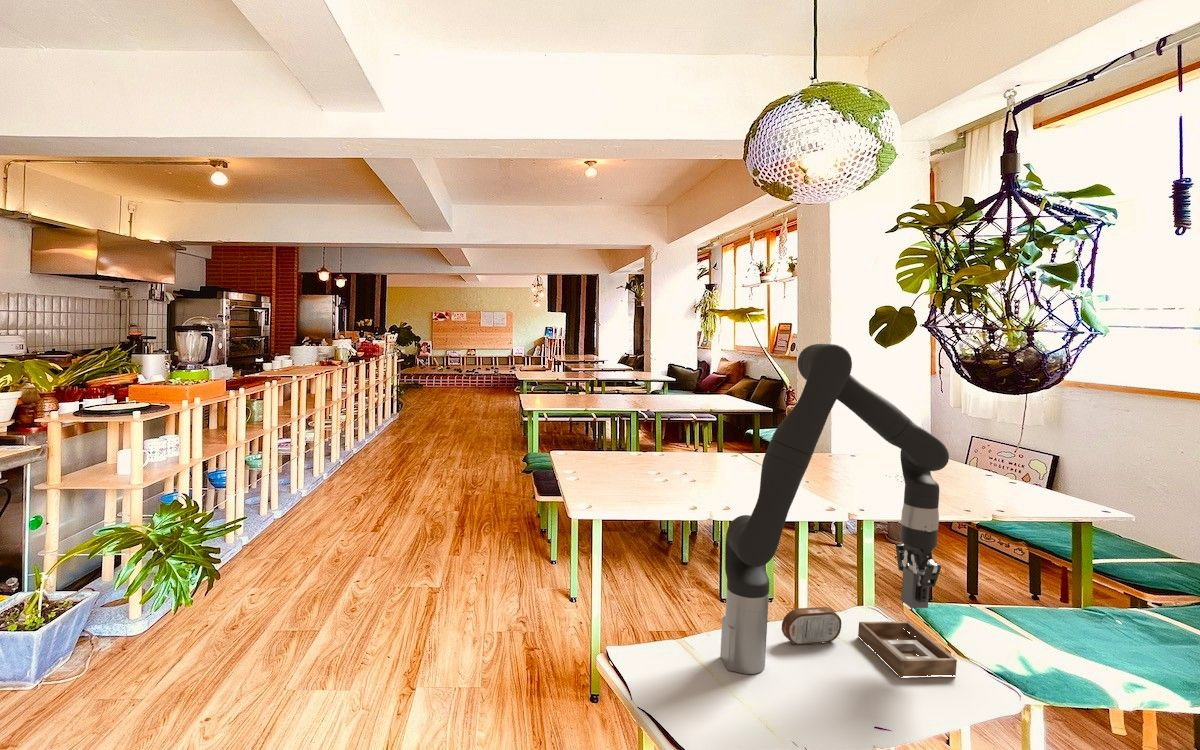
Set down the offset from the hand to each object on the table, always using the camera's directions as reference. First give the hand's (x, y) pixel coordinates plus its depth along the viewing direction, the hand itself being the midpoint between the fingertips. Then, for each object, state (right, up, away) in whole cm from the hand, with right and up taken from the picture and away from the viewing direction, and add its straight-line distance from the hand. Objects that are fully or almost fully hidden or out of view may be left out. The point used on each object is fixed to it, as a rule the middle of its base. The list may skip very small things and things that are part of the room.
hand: (914, 596), depth 140 cm
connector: (0, -2, 0) cm, 2 cm away
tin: (-21, -14, +8) cm, 27 cm away
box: (-1, -15, +3) cm, 16 cm away
